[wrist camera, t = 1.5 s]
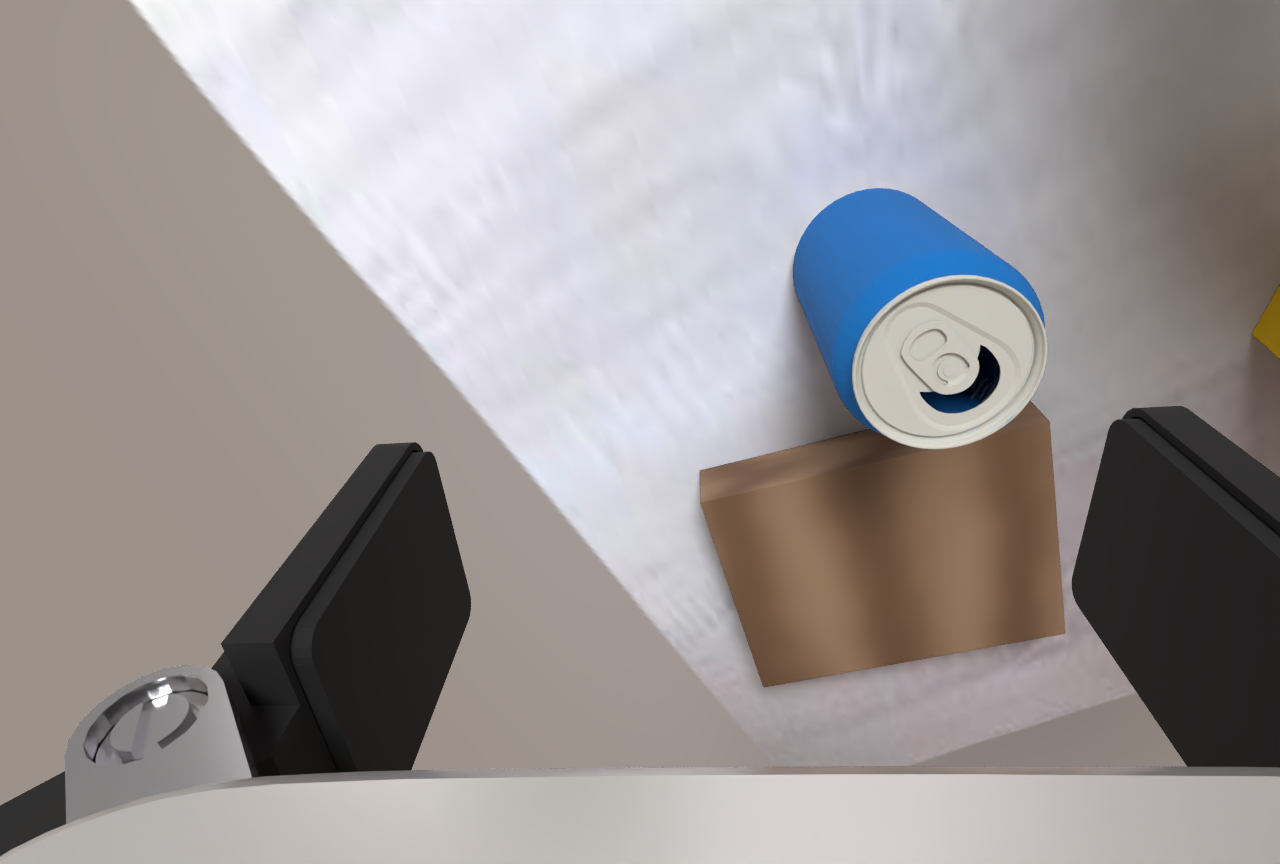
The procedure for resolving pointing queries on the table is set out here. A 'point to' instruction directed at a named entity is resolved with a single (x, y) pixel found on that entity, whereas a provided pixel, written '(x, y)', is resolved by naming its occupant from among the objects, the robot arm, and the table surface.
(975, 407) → the beverage can
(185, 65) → the table surface
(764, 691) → the table surface
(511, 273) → the table surface
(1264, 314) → the alarm clock
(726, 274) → the table surface
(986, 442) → the walnut board
